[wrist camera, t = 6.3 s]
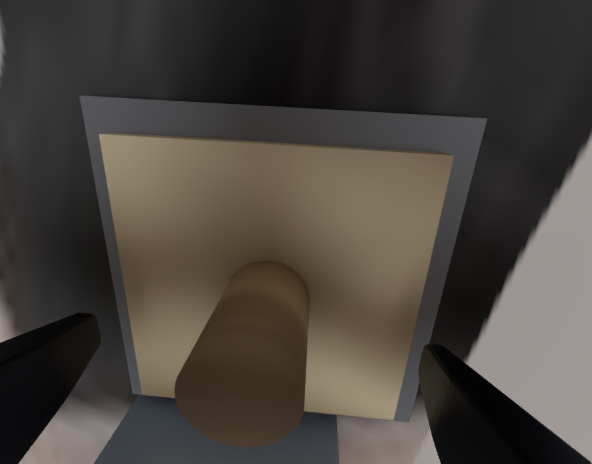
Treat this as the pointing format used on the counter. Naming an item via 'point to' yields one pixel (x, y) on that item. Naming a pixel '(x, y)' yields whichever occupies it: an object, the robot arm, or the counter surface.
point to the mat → (296, 130)
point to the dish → (211, 440)
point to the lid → (272, 275)
